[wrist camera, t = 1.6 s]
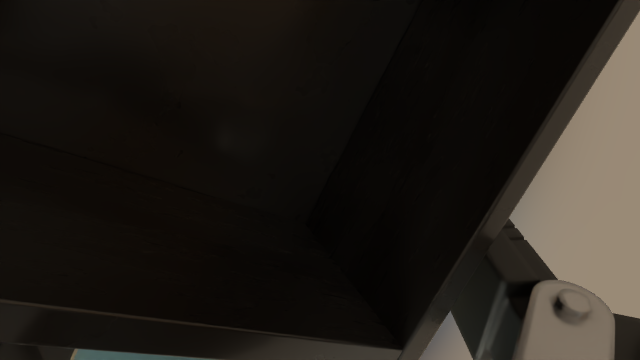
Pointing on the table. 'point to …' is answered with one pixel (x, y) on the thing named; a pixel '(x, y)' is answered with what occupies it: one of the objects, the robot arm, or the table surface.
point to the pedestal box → (272, 165)
